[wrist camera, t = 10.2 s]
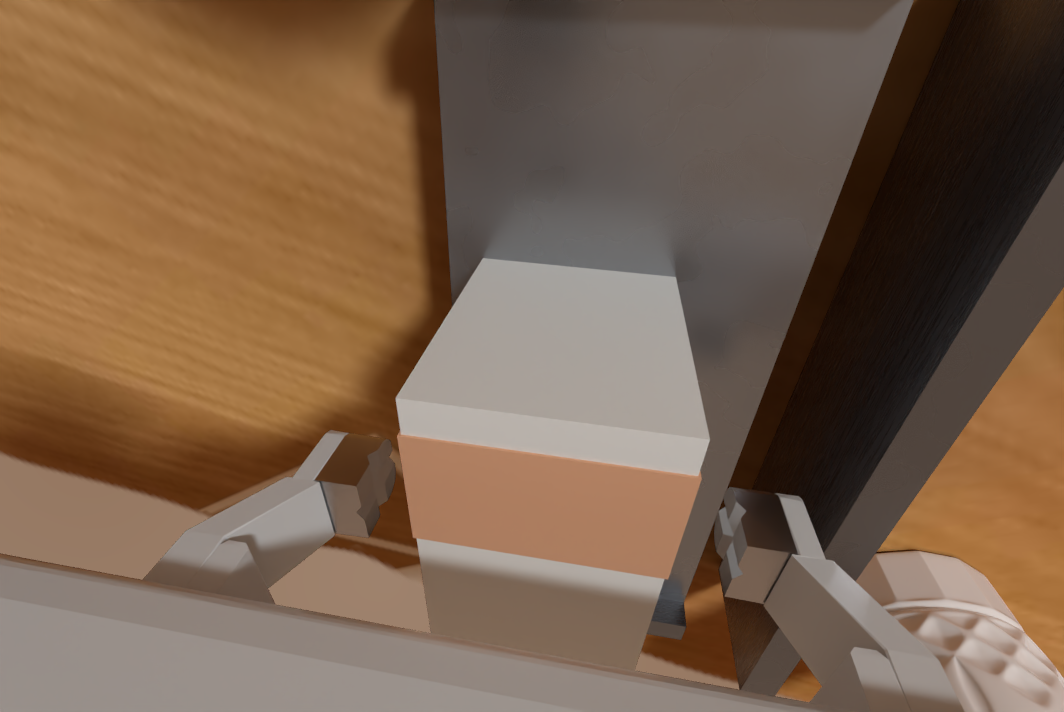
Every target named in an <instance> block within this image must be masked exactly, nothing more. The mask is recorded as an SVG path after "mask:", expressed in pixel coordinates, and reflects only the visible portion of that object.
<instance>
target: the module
mask: <svg viewBox="0 0 1064 712" xmlns="http://www.w3.org/2000/svg"><path fill="white" fill-rule="evenodd" d="M396 405H397V411H398V418H399V425H400V432H399V433H398V435H397V439H398V445H399V451H400V458H401V464H402V471H403V477H404V483H405V490H406V496H407V503H408V509H409V515H410V522H411V528H412V535H413V538H417V545H418V551H419V558H420V565H421V571H422V578H423V585H424V591H425V598H426V604H427V611H428V618H429V624H430V631H431V633H432V634H438V635H443V636H449V637H454V638H460V639H465V640H471V641H476V642H482V643H487V644H493V645H498V646H504V647H509V648H515V649H520V650H525V651H531V652H536V653H542V654H547V655H553V656H558V657H564V658H569V659H575V660H580V661H585V662H591V663H596V664H602V665H607V666H613V667H618V668H624V669H629V670H634V671H635V667H636V665H637V662H638V659H639V656H640V653H641V650H642V646H643V643H644V640H645V637H646V634H647V631H648V628H649V625H650V622H651V619H652V616H653V613H654V610H655V607H656V604H657V601H658V598H659V594H660V591H661V588H662V585H663V582H664V579H668V578H669V575H670V572H671V569H672V566H673V563H674V560H675V557H676V554H677V551H678V548H679V545H680V542H681V539H682V537H683V534H684V531H685V528H686V525H687V522H688V519H689V516H690V513H691V510H692V507H693V504H694V501H695V498H696V495H697V492H698V489H699V486H700V483H701V480H702V478H701V472H700V469H701V466H702V463H703V460H704V457H705V454H706V451H707V448H708V445H709V441H710V437H709V432H708V428H707V423H706V418H705V413H704V409H703V404H702V399H701V394H700V389H699V385H698V380H697V375H696V370H695V366H694V361H693V356H692V351H691V347H690V342H689V337H688V332H687V328H686V323H685V318H684V313H683V309H682V304H681V299H680V294H679V290H678V285H677V280H676V277H671V276H660V275H650V274H640V273H630V272H620V271H609V270H599V269H589V268H579V267H569V266H558V265H548V264H538V263H528V262H518V261H507V260H497V259H487V258H483V259H482V260H481V262H480V264H479V265H478V267H477V268H476V270H475V272H474V273H473V275H472V276H471V278H470V280H469V281H468V283H467V284H466V286H465V288H464V289H463V291H462V292H461V294H460V296H459V297H458V299H457V300H456V302H455V304H454V305H453V307H452V308H451V310H450V312H449V313H448V315H447V316H446V318H445V320H444V321H443V323H442V324H441V326H440V328H439V329H438V331H437V332H436V334H435V336H434V337H433V339H432V340H431V342H430V344H429V345H428V347H427V348H426V350H425V352H424V353H423V355H422V356H421V358H420V360H419V361H418V363H417V364H416V366H415V368H414V369H413V371H412V372H411V374H410V376H409V377H408V379H407V380H406V382H405V384H404V385H403V387H402V388H401V390H400V392H399V393H398V395H397V396H396Z"/></svg>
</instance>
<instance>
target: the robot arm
mask: <svg viewBox="0 0 1064 712" xmlns="http://www.w3.org/2000/svg"><path fill="white" fill-rule="evenodd" d="M391 452H392V446H391V441H390V440H388V439H384V438H378V437H372V436H366V435H360V434H354V433H346V432H340V431H334V430H330V431H329V432H327V433H325V434H324V436H323V437H322V438H321V440H320V441H319V442H318V444H317V445H316V446H315V448H314V449H313V450H312V452H311V453H310V454H309V456H308V457H307V458H306V460H305V461H304V462H303V464H302V465H301V466H300V468H299V469H298V470H297V472H296V473H295V474H294V476H293V477H285V478H283V479H281V480H280V481H278V482H276V483H274V484H272V485H270V486H268V487H267V488H265V489H263V490H261V491H259V492H257V493H255V494H253V495H252V496H250V497H248V498H246V499H244V500H242V501H240V502H239V503H237V504H235V505H233V506H231V507H229V508H227V509H225V510H224V511H222V512H220V513H218V514H216V515H214V516H212V517H211V518H209V519H207V520H205V521H203V522H201V523H199V524H198V525H196V526H194V527H192V528H190V529H188V530H187V531H185V532H184V533H183V534H182V536H181V537H180V538H179V539H178V540H177V541H176V542H175V544H174V545H173V546H172V547H171V548H170V549H169V550H168V551H167V553H166V554H165V555H164V556H163V557H162V558H161V559H160V561H159V562H158V563H157V564H156V565H155V566H154V567H153V568H152V570H151V571H150V572H149V573H148V574H147V575H146V576H145V578H144V579H143V580H140V579H134V578H128V577H123V576H118V575H113V574H107V573H102V572H96V571H91V570H85V569H80V568H75V567H69V566H63V565H58V564H53V563H47V562H42V561H36V560H31V559H26V558H21V557H16V556H10V555H6V554H0V712H965V711H964V709H963V707H962V705H961V703H960V701H959V699H958V697H957V695H956V693H955V691H954V689H953V687H952V685H951V683H950V681H949V679H948V677H947V675H946V673H945V671H944V669H943V667H942V665H941V663H940V661H939V660H938V659H937V658H936V657H935V656H934V655H933V654H932V653H931V652H930V651H929V650H928V649H927V648H926V647H925V646H923V645H922V644H921V643H920V642H919V641H918V640H917V639H916V638H915V637H914V636H913V635H912V634H911V633H910V632H909V631H907V630H906V629H905V628H904V627H903V626H902V625H901V624H900V623H899V622H898V621H897V620H896V619H895V618H894V617H893V616H891V615H890V614H889V613H888V612H887V611H886V610H885V609H884V608H883V607H882V606H881V605H880V604H879V603H878V602H877V601H875V600H874V599H873V598H872V597H871V596H870V595H869V594H868V593H867V592H866V591H865V590H864V589H863V588H862V587H861V586H859V585H858V584H857V583H856V582H855V581H854V580H853V579H852V578H851V577H850V576H849V575H848V574H847V573H846V572H845V571H844V570H842V569H841V568H840V567H839V566H838V565H837V564H836V563H835V562H834V561H832V560H826V558H825V556H824V553H823V551H822V548H821V546H820V543H819V541H818V538H817V535H816V533H815V530H814V528H813V525H812V523H811V520H810V518H809V515H808V513H807V510H806V507H805V505H804V502H803V500H802V499H801V498H800V497H799V496H794V495H787V494H779V493H772V492H764V491H757V490H749V489H742V488H734V487H729V488H728V489H727V491H726V493H725V496H724V503H725V507H724V508H722V509H721V510H719V511H718V514H717V517H716V520H715V528H714V541H715V547H716V552H717V553H718V554H719V555H720V556H721V558H722V559H723V561H722V564H721V566H720V569H719V570H720V576H721V581H722V586H723V592H724V596H725V597H730V598H735V599H740V600H746V601H751V602H756V603H761V604H764V607H765V609H766V610H767V611H768V613H769V614H770V615H771V617H772V618H773V620H774V621H775V622H776V624H777V625H778V626H779V628H780V629H781V631H782V632H783V633H784V635H785V636H786V637H787V639H788V640H789V642H790V643H791V644H792V646H793V647H794V648H795V650H796V651H797V653H798V654H799V655H800V657H801V658H802V659H803V661H804V662H805V664H806V665H807V666H808V668H809V669H810V670H811V672H812V673H813V675H814V676H815V677H816V679H817V680H818V681H819V683H820V684H821V686H822V688H821V689H820V690H819V691H818V692H817V694H816V695H815V696H814V697H813V699H812V700H811V701H810V702H809V703H808V702H803V701H798V700H792V699H787V698H781V697H776V696H770V695H765V694H760V693H754V692H749V691H743V690H738V689H732V688H727V687H721V686H716V685H711V684H705V683H699V682H694V681H689V680H683V679H678V678H672V677H667V676H661V675H655V674H650V673H645V672H640V671H634V670H629V669H624V668H618V667H613V666H607V665H602V664H596V663H591V662H585V661H580V660H575V659H569V658H564V657H558V656H553V655H547V654H542V653H536V652H531V651H525V650H520V649H515V648H509V647H504V646H498V645H493V644H487V643H482V642H476V641H471V640H465V639H460V638H454V637H449V636H443V635H438V634H432V633H427V632H422V631H416V630H411V629H405V628H400V627H394V626H389V625H384V624H378V623H373V622H367V621H361V620H356V619H351V618H346V617H340V616H335V615H329V614H324V613H318V612H313V611H308V610H302V609H297V608H291V607H286V606H280V605H275V603H274V600H273V598H272V596H271V594H270V592H269V590H268V588H269V587H271V586H272V585H273V584H274V583H275V582H277V581H278V580H279V579H281V578H282V577H283V576H284V575H286V574H287V573H288V572H289V571H291V570H292V569H293V568H294V567H296V566H297V565H298V564H300V563H301V562H302V561H303V560H305V559H306V558H307V557H308V556H309V555H311V554H312V553H313V552H314V551H316V550H317V549H318V548H320V547H321V546H322V545H323V544H325V543H326V542H327V541H328V540H330V539H331V538H332V537H334V536H335V533H337V534H344V535H351V536H359V537H366V538H369V536H370V534H371V532H372V530H373V528H374V526H375V525H376V523H377V521H378V519H379V517H380V511H379V506H380V505H381V504H383V503H384V502H386V501H388V499H389V497H390V495H391V492H392V490H393V486H394V482H395V475H396V469H395V463H394V462H393V461H392V460H391V459H390V458H389V456H390V454H391Z"/></svg>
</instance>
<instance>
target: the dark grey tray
mask: <svg viewBox="0 0 1064 712" xmlns="http://www.w3.org/2000/svg"><path fill="white" fill-rule="evenodd" d="M913 1H914V0H434V12H435V28H436V45H437V62H438V79H439V95H440V112H441V129H442V145H443V162H444V179H445V195H446V212H447V229H448V246H449V262H450V279H451V296H452V307H453V305H454V304H455V302H456V300H457V299H458V297H459V296H460V294H461V292H462V291H463V289H464V288H465V286H466V284H467V283H468V281H469V280H470V278H471V276H472V275H473V273H474V272H475V270H476V268H477V267H478V265H479V264H480V262H481V260H482V259H483V258H487V259H497V260H507V261H518V262H528V263H538V264H548V265H558V266H569V267H579V268H589V269H599V270H609V271H620V272H630V273H640V274H650V275H660V276H671V277H676V280H677V285H678V290H679V294H680V299H681V304H682V309H683V313H684V318H685V323H686V328H687V332H688V337H689V342H690V347H691V351H692V356H693V361H694V366H695V370H696V375H697V380H698V385H699V389H700V394H701V399H702V404H703V409H704V413H705V418H706V423H707V428H708V432H709V437H710V441H709V445H708V448H707V451H706V454H705V457H704V460H703V463H702V466H701V469H700V472H701V478H702V480H701V483H700V486H699V489H698V492H697V495H696V498H695V501H694V504H693V507H692V510H691V513H690V516H689V519H688V522H687V525H686V528H685V531H684V534H683V537H682V539H681V542H680V545H679V548H678V551H677V554H676V557H675V560H674V563H673V566H672V569H671V572H670V575H669V578H668V579H664V582H663V585H662V588H661V591H660V594H659V598H658V601H657V604H656V607H655V610H654V613H653V616H652V619H651V622H650V625H649V628H648V631H647V634H650V635H656V636H662V637H667V638H673V639H679V640H681V639H682V636H683V634H684V631H685V629H686V619H685V610H684V600H685V597H686V595H687V592H688V590H689V587H690V584H691V582H692V579H693V577H694V574H695V571H696V569H697V566H698V563H699V561H700V558H701V556H702V553H703V550H704V548H705V545H706V542H707V540H708V537H709V535H710V532H711V529H712V527H713V524H714V522H715V519H716V516H717V514H718V511H719V508H720V506H721V503H722V501H723V498H724V495H725V493H726V490H727V488H728V485H729V482H730V480H731V477H732V474H733V472H734V469H735V467H736V464H737V461H738V459H739V456H740V453H741V451H742V448H743V446H744V443H745V440H746V438H747V435H748V433H749V430H750V427H751V425H752V422H753V419H754V417H755V414H756V412H757V409H758V406H759V404H760V401H761V399H762V396H763V393H764V391H765V388H766V385H767V383H768V380H769V378H770V375H771V372H772V370H773V367H774V364H775V362H776V359H777V357H778V354H779V351H780V349H781V346H782V344H783V341H784V338H785V336H786V333H787V330H788V328H789V325H790V323H791V320H792V317H793V315H794V312H795V310H796V307H797V304H798V302H799V299H800V296H801V294H802V291H803V289H804V286H805V283H806V281H807V278H808V275H809V273H810V270H811V268H812V265H813V262H814V260H815V257H816V255H817V252H818V249H819V247H820V244H821V241H822V239H823V236H824V234H825V231H826V228H827V226H828V223H829V221H830V218H831V215H832V213H833V210H834V207H835V205H836V202H837V200H838V197H839V194H840V192H841V189H842V186H843V184H844V181H845V179H846V176H847V173H848V171H849V168H850V166H851V163H852V160H853V158H854V155H855V152H856V150H857V147H858V145H859V142H860V139H861V137H862V134H863V132H864V129H865V126H866V124H867V121H868V118H869V116H870V113H871V111H872V108H873V105H874V103H875V100H876V97H877V95H878V92H879V90H880V87H881V84H882V82H883V79H884V77H885V74H886V71H887V69H888V66H889V63H890V61H891V58H892V56H893V53H894V50H895V48H896V45H897V43H898V40H899V37H900V35H901V32H902V29H903V27H904V24H905V22H906V19H907V16H908V14H909V11H910V8H911V6H912V3H913ZM1063 287H1064V0H960V2H959V4H958V7H957V9H956V11H955V14H954V16H953V18H952V21H951V23H950V25H949V28H948V30H947V32H946V35H945V37H944V39H943V42H942V44H941V47H940V49H939V51H938V54H937V56H936V58H935V61H934V63H933V65H932V68H931V70H930V72H929V75H928V77H927V79H926V82H925V84H924V87H923V89H922V91H921V94H920V96H919V98H918V101H917V103H916V105H915V108H914V110H913V112H912V115H911V117H910V119H909V122H908V124H907V127H906V129H905V131H904V134H903V136H902V138H901V141H900V143H899V145H898V148H897V150H896V152H895V155H894V157H893V160H892V162H891V164H890V167H889V169H888V171H887V174H886V176H885V178H884V181H883V183H882V185H881V188H880V190H879V192H878V195H877V197H876V200H875V202H874V204H873V207H872V209H871V211H870V214H869V216H868V218H867V221H866V223H865V225H864V228H863V230H862V232H861V235H860V237H859V240H858V242H857V244H856V247H855V249H854V251H853V254H852V256H851V258H850V261H849V263H848V265H847V268H846V270H845V272H844V275H843V277H842V280H841V282H840V284H839V287H838V289H837V291H836V294H835V296H834V298H833V301H832V303H831V305H830V308H829V310H828V312H827V315H826V317H825V320H824V322H823V324H822V327H821V329H820V331H819V334H818V336H817V338H816V341H815V343H814V345H813V348H812V350H811V353H810V355H809V357H808V360H807V362H806V364H805V367H804V369H803V371H802V374H801V376H800V378H799V381H798V383H797V385H796V388H795V390H794V393H793V395H792V397H791V400H790V402H789V404H788V407H787V409H786V411H785V414H784V416H783V418H782V421H781V423H780V425H779V428H778V430H777V433H776V435H775V437H774V440H773V442H772V444H771V447H770V449H769V451H768V454H767V456H766V458H765V461H764V463H763V465H762V468H761V470H760V473H759V475H758V477H757V480H756V482H755V484H754V487H753V489H752V490H757V491H764V492H772V493H779V494H787V495H794V496H799V497H800V498H801V499H802V500H803V502H804V505H805V507H806V510H807V513H808V515H809V518H810V520H811V523H812V525H813V528H814V530H815V533H816V535H817V538H818V541H819V543H820V546H821V548H822V551H823V553H824V556H825V558H826V560H832V561H834V562H835V563H836V564H837V565H838V566H839V567H840V568H841V569H842V570H844V571H845V572H846V573H847V574H848V575H849V576H850V577H851V578H852V579H853V580H854V581H855V582H856V580H857V579H858V577H859V576H860V574H861V573H862V572H863V570H864V569H865V567H866V566H867V565H868V563H869V562H870V560H871V559H872V558H873V556H874V555H875V553H876V552H877V550H878V549H879V548H880V546H881V545H882V543H883V542H884V541H885V539H886V538H887V536H888V535H889V533H890V532H891V531H892V529H893V528H894V526H895V525H896V524H897V522H898V521H899V519H900V518H901V516H902V515H903V514H904V512H905V511H906V509H907V508H908V507H909V505H910V504H911V502H912V501H913V500H914V498H915V497H916V495H917V494H918V492H919V491H920V490H921V488H922V487H923V485H924V484H925V483H926V481H927V480H928V478H929V477H930V475H931V474H932V473H933V471H934V470H935V468H936V467H937V466H938V464H939V463H940V461H941V460H942V458H943V457H944V456H945V454H946V453H947V451H948V450H949V449H950V447H951V446H952V444H953V443H954V442H955V440H956V439H957V437H958V436H959V434H960V433H961V432H962V430H963V429H964V427H965V426H966V425H967V423H968V422H969V420H970V419H971V417H972V416H973V415H974V413H975V412H976V410H977V409H978V408H979V406H980V405H981V403H982V402H983V400H984V399H985V398H986V396H987V395H988V393H989V392H990V391H991V389H992V388H993V386H994V385H995V384H996V382H997V381H998V379H999V378H1000V376H1001V375H1002V374H1003V372H1004V371H1005V369H1006V368H1007V367H1008V365H1009V364H1010V362H1011V361H1012V359H1013V358H1014V357H1015V355H1016V354H1017V352H1018V351H1019V350H1020V348H1021V347H1022V345H1023V344H1024V342H1025V341H1026V340H1027V338H1028V337H1029V335H1030V334H1031V333H1032V331H1033V330H1034V328H1035V327H1036V326H1037V324H1038V323H1039V321H1040V320H1041V318H1042V317H1043V316H1044V314H1045V313H1046V311H1047V310H1048V309H1049V307H1050V306H1051V304H1052V303H1053V301H1054V300H1055V299H1056V297H1057V296H1058V294H1059V293H1060V292H1061V290H1062V289H1063ZM722 561H723V560H722ZM721 564H722V562H721ZM721 564H720V566H721ZM719 569H720V567H719ZM719 575H720V570H719ZM720 580H721V576H720ZM721 586H722V581H721ZM722 592H723V586H722ZM723 598H724V603H725V609H726V615H727V620H728V626H729V632H730V637H731V643H732V649H733V654H734V660H735V666H736V672H737V677H738V683H739V689H740V690H743V691H749V692H754V693H760V694H765V695H770V696H775V695H776V693H777V692H778V690H779V689H780V688H781V686H782V685H783V683H784V682H785V681H786V679H787V678H788V676H789V675H790V674H791V672H792V671H793V669H794V668H795V666H796V665H797V664H798V662H799V661H800V659H801V657H800V655H799V654H798V653H797V651H796V650H795V648H794V647H793V646H792V644H791V643H790V642H789V640H788V639H787V637H786V636H785V635H784V633H783V632H782V631H781V629H780V628H779V626H778V625H777V624H776V622H775V621H774V620H773V618H772V617H771V615H770V614H769V613H768V611H767V610H766V609H765V607H764V604H761V603H756V602H751V601H746V600H740V599H735V598H730V597H725V596H724V592H723Z"/></svg>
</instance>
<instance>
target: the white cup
mask: <svg viewBox="0 0 1064 712" xmlns="http://www.w3.org/2000/svg"><path fill="white" fill-rule="evenodd" d="M856 583H857V584H858V585H859V586H861V587H862V588H863V589H864V590H865V591H866V592H867V593H868V594H869V595H870V596H871V597H872V598H873V599H874V600H875V601H877V602H878V603H879V604H880V605H881V606H882V607H883V608H884V609H885V610H886V611H887V612H888V613H889V614H890V615H891V616H893V617H894V618H895V619H896V620H897V621H898V622H899V623H900V624H901V625H902V626H903V627H904V628H905V629H906V630H907V631H909V632H910V633H911V634H912V635H913V636H914V637H915V638H916V639H917V640H918V641H919V642H920V643H921V644H922V645H923V646H925V647H926V648H927V649H928V650H929V651H930V652H931V653H932V654H933V655H934V656H935V657H936V658H937V659H938V660H939V661H940V663H941V665H942V667H943V669H944V671H945V673H946V675H947V677H948V679H949V681H950V683H951V685H952V687H953V689H954V691H955V693H956V695H957V697H958V699H959V701H960V703H961V705H962V707H963V709H964V711H965V712H1064V678H1063V677H1062V675H1061V674H1060V673H1059V671H1058V670H1057V669H1056V667H1055V666H1054V664H1053V663H1052V662H1051V661H1050V660H1049V658H1048V657H1047V656H1046V655H1045V654H1044V653H1043V652H1042V650H1041V649H1040V648H1039V647H1038V646H1037V645H1036V644H1035V643H1034V642H1033V641H1032V640H1031V639H1030V638H1029V637H1028V636H1027V635H1026V634H1025V632H1024V630H1023V628H1022V627H1021V625H1020V624H1019V622H1018V621H1017V620H1016V618H1015V617H1014V615H1013V614H1012V612H1011V611H1010V610H1009V608H1008V607H1007V606H1006V604H1005V603H1004V601H1003V600H1002V599H1001V597H1000V596H999V594H998V593H997V592H996V590H995V589H994V587H993V586H992V585H991V583H990V582H989V580H988V579H987V578H986V577H985V576H984V575H983V574H982V573H980V572H979V571H977V570H975V569H974V568H972V567H971V566H969V565H967V564H966V563H964V562H963V561H961V560H959V559H958V558H955V557H950V556H944V555H939V554H934V553H928V552H923V551H902V552H888V553H876V554H875V555H874V556H873V558H872V559H871V560H870V562H869V563H868V565H867V566H866V567H865V569H864V570H863V572H862V573H861V574H860V576H859V577H858V579H857V580H856Z"/></svg>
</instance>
